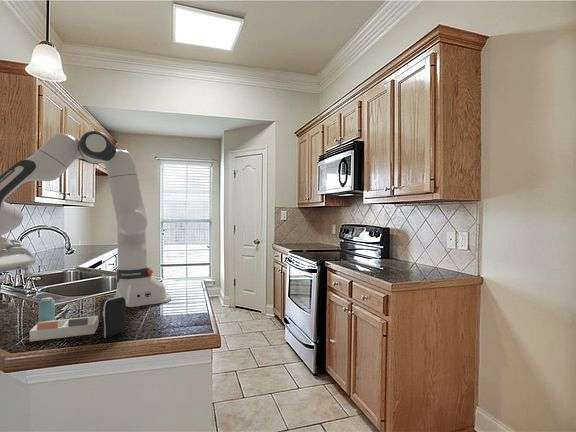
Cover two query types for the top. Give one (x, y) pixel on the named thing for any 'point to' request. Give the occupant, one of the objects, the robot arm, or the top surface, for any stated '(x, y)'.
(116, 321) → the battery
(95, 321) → the dock
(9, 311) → the top surface
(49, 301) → the light blue cylinder
